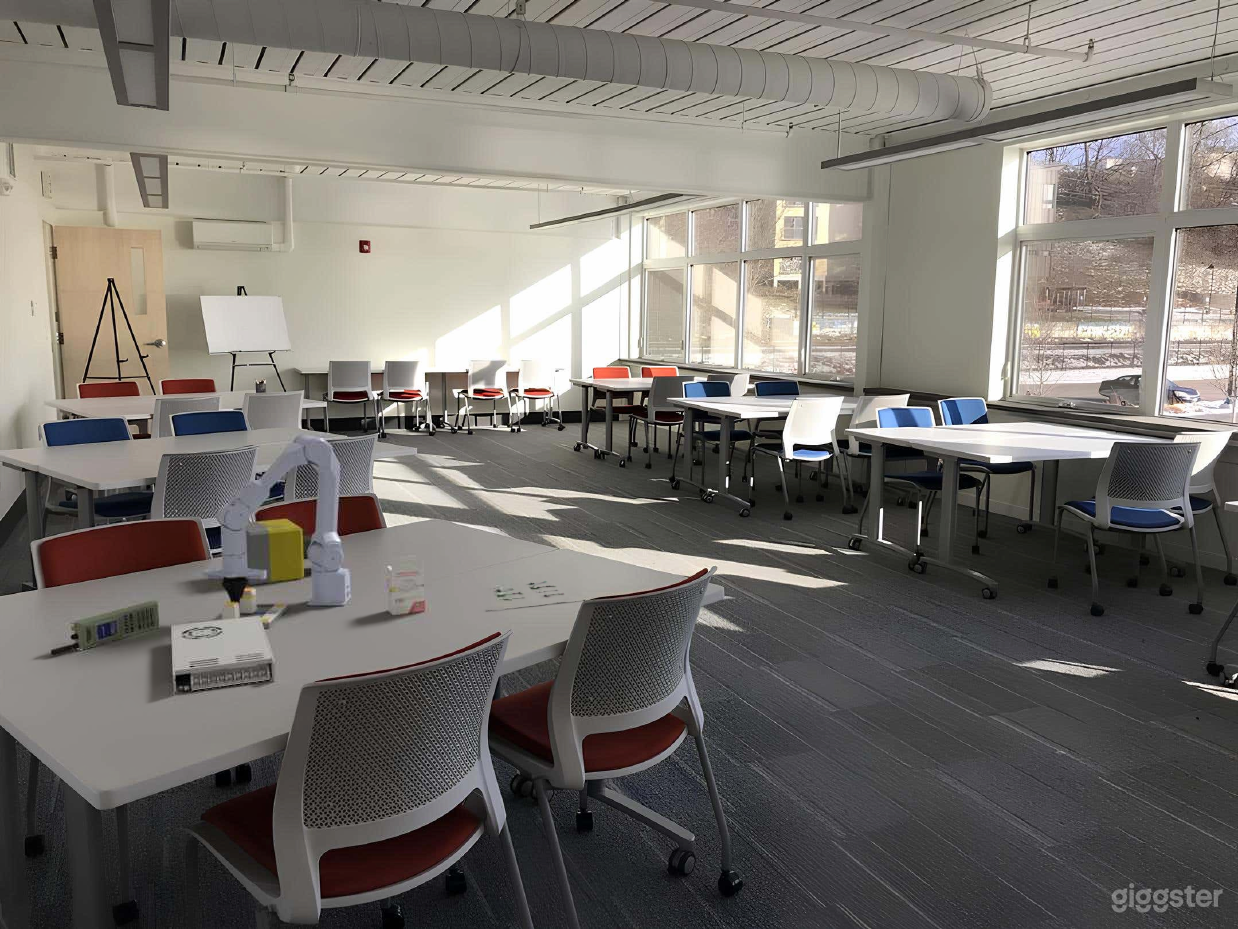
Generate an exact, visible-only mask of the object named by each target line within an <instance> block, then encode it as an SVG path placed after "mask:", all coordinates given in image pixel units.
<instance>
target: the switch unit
mask: <svg viewBox="0 0 1238 929" xmlns="http://www.w3.org/2000/svg"><path fill="white" fill-rule="evenodd" d="M289 609H290V603H284V602H282V603H279V602H278V603H257V610H256V611H255V612H254V613H240V617H239V618H243V617H252V616H260V618H261V621H262V624H263V627H264V629H270V628H272V626H273V625H274V624H275V623H276V622H277V621H278V620H279V619H280V618H281V617H282V616H283V615H284V614H285V613H286V612H287V611H288V610H289ZM239 611H240V607H239ZM285 611H286V612H285ZM282 614H283V615H282ZM216 620H223V619H222V612H221V613H219V615H217V616H216V617H215V618H214V619H213V620H212V621H216Z"/></svg>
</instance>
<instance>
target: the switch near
mask: <svg viewBox="0 0 1238 929" xmlns="http://www.w3.org/2000/svg"><path fill="white" fill-rule="evenodd" d="M221 613H222V619H223V620H225V619H234V618H239V617H240V611H239V603H237V602H231V601H227V602H225V603H224V604H223V605H222V606H221Z"/></svg>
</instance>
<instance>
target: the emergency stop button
mask: <svg viewBox="0 0 1238 929" xmlns="http://www.w3.org/2000/svg"><path fill="white" fill-rule="evenodd" d="M303 531H304V530H303V528H301V526H299V525H297V524H295V523H294V522H292V521H291V520H289V519H288V518H281V519H270V520H260V521H252V522H251V521H249V523H248V525H247V526H246V542H247V566H248V568H250V569H259V570H267V577H266V578H265V579H249V581H248V583H247V584H249V585H251V586H258V585H257V584H259V585H264V584H263V583H267V584H273V583H272V582H274V583H280V582H279V581H282V582H289V581H293V580H292V579H297V580H302V579H303V578H305V570H304V569H305V568H304V567H305V566H304V561H305V560H309V559H308V556H307V550H308V548H309V546H310V544H311V537H312V535H313V534H314V533H315V532H314V533H312V532H311V533H310V534H309V535H303ZM288 580H289V581H288Z"/></svg>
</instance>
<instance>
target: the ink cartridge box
mask: <svg viewBox="0 0 1238 929" xmlns="http://www.w3.org/2000/svg"><path fill="white" fill-rule="evenodd" d="M407 561H408V562H409V563H403V562H407ZM410 562H411V563H410ZM390 564H391V565H388V566H386V584H387V585H386V587H387V591H386V592H387V610H388V612H389V613H390V614H391V615H392V616H397V615H405V614H412V613H413V614H414V613H422V612H425V611H426V602H425V598H426V596H425V594H426V593H425V569H424V568H425V567H424V560H423V555H412V556H401V557H392V558H391V559H390Z"/></svg>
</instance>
